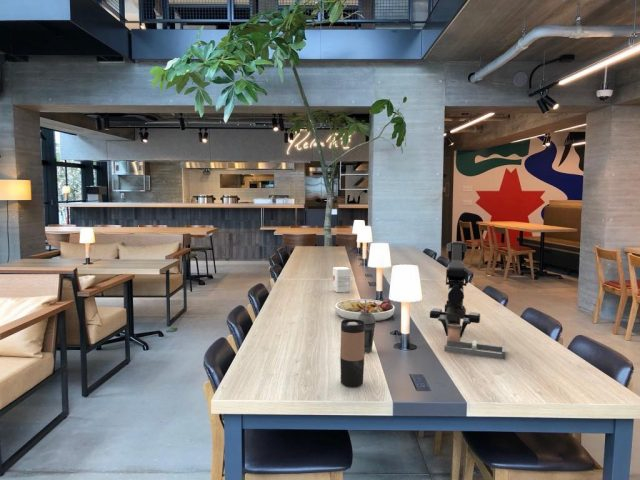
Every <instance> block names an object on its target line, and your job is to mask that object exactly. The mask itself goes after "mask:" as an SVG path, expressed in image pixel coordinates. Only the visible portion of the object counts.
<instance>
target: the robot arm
mask: <svg viewBox="0 0 640 480" xmlns="http://www.w3.org/2000/svg"><path fill="white" fill-rule="evenodd" d="M467 246H468V244H466V243H464V242H463V241H451V242H449V243H447V244H446V254H448V255H447V257H448V260H449V261H450V262H448V268H446V269H445V271H446V275H445V285H448V287H447V289H448V290H447V299H446V303H444V311H443V310H442V308H435V307H433V308H431V310H430V311H429V318H431V319H437V321H439V322H440V323H441V325H442V326H443V329H444V333H445V335H446V337H447V336H448V327H447V325H448V324H459V325H461V322H462V325H461V326H462V328H461V336H460V338H462V337H463V335H464V332H465V329H466V328H467V326H468V325H471V323H473V324H479V323H481V322H480V321H481V313H480V312H476V311H475V312H474V311H470V312H469V313H466V311H467V310H466V309H467V308H466V307H465V305H464V299H465V293H464V287H466V286H467V285H468V284H469V272H468V270H467V269H466V264H465V263H463V261H464V259H465V255H466V254H467V251H468V250H467V249H468V247H467ZM461 320H462V321H461Z"/></svg>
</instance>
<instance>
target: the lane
mask: <svg viewBox="0 0 640 480" xmlns="http://www.w3.org/2000/svg"><path fill="white" fill-rule="evenodd" d="M472 343H473V341H472V342H469V341H464V340H463V341H462V340H460V341H450V340H448V339H446V344H445V345H444V346H443V347H444V348H443V350H444V352H447V353H453V354H461V355H469V356H477V357H482V358H483V357H484V358H490V359H498V360H506V350H507V348H506V347H507V344H505V343H502V345H497V344H496V345H495V344H486V343H479V342H477V350H476V349H472Z"/></svg>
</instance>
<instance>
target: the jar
mask: <svg viewBox="0 0 640 480" xmlns="http://www.w3.org/2000/svg"><path fill="white" fill-rule="evenodd" d="M447 327H448V336H446V338H447V339H446V340H450V341H462V340H461V338H460V336H461V329H462V325H461V324H460V325H459V324H448V325H447Z"/></svg>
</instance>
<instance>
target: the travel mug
mask: <svg viewBox="0 0 640 480" xmlns="http://www.w3.org/2000/svg"><path fill="white" fill-rule="evenodd" d="M364 329H365V323H364V321H361V320H357V319H343V320H342V321H341V322H340V350H339V351H340V352H339V353H340V357H339V358H340V359H339V360H340V384H341V385H342V386H344V387H346V388H358V387H361V386H362V385H363V383H364V369H365V353H364Z"/></svg>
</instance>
